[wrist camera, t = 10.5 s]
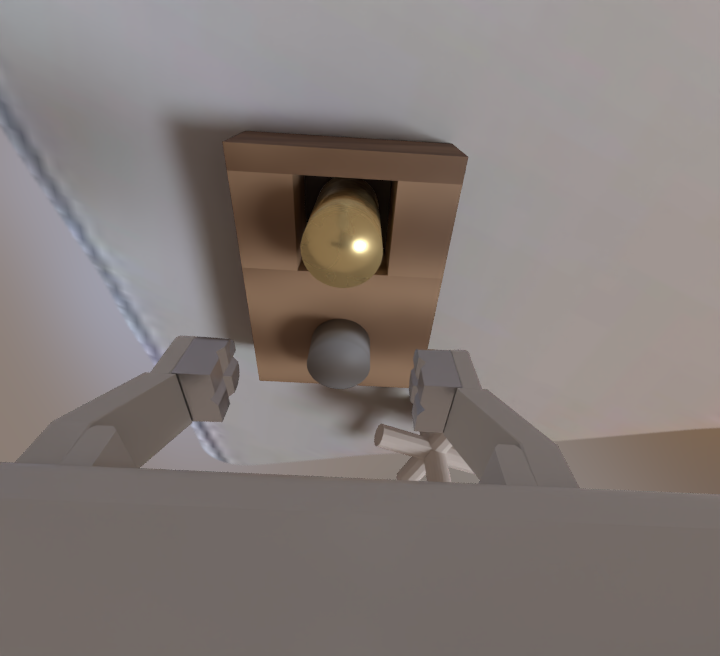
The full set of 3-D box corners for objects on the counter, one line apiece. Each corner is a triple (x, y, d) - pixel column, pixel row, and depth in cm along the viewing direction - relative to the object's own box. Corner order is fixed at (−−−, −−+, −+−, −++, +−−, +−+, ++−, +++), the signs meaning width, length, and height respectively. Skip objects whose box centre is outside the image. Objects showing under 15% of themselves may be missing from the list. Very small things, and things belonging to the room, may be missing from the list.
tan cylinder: (316, 172, 22) (298, 208, 16) (381, 176, 22) (386, 213, 16) (317, 235, 24) (302, 285, 18) (376, 239, 24) (379, 290, 18)
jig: (245, 131, 20) (203, 150, 15) (452, 143, 21) (480, 167, 15) (271, 347, 30) (250, 404, 25) (413, 354, 30) (423, 413, 25)
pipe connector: (443, 446, 37) (464, 550, 29) (356, 421, 35) (353, 525, 27) (501, 384, 32) (547, 491, 24) (402, 349, 30) (416, 453, 22)
